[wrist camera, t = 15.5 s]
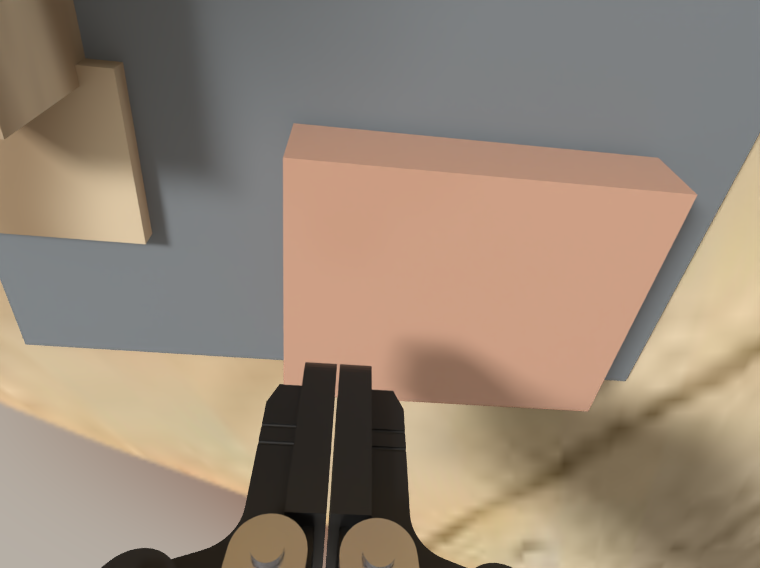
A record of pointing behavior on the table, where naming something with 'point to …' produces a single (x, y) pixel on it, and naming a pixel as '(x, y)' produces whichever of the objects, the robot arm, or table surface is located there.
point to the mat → (376, 113)
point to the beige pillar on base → (65, 132)
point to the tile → (469, 262)
